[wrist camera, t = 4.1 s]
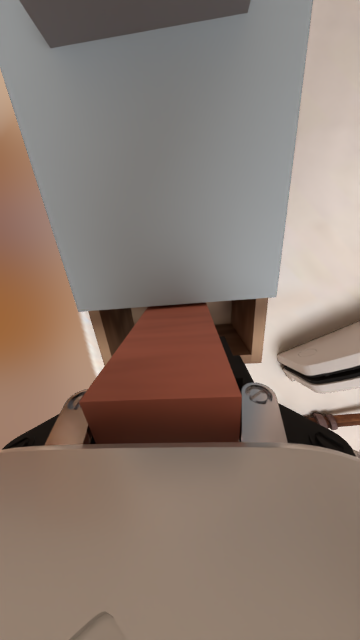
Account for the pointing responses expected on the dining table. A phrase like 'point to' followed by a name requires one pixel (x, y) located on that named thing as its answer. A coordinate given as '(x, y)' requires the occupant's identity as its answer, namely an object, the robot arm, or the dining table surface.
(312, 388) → the white curved piece
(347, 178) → the dining table surface
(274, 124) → the lid
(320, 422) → the hammer
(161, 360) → the peg
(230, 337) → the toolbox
